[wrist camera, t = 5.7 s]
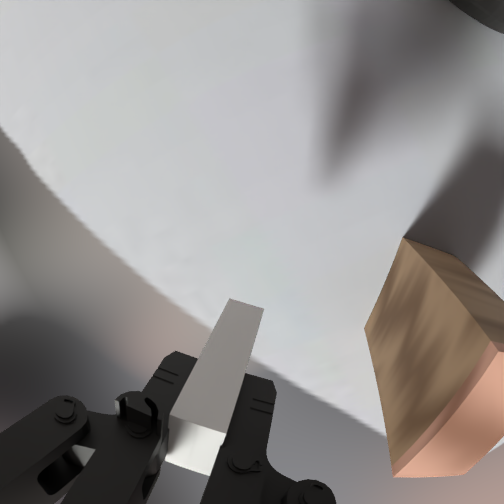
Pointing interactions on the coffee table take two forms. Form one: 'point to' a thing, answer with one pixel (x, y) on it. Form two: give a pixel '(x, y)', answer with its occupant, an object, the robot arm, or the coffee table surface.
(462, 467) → the light brown wooden block
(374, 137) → the coffee table surface
